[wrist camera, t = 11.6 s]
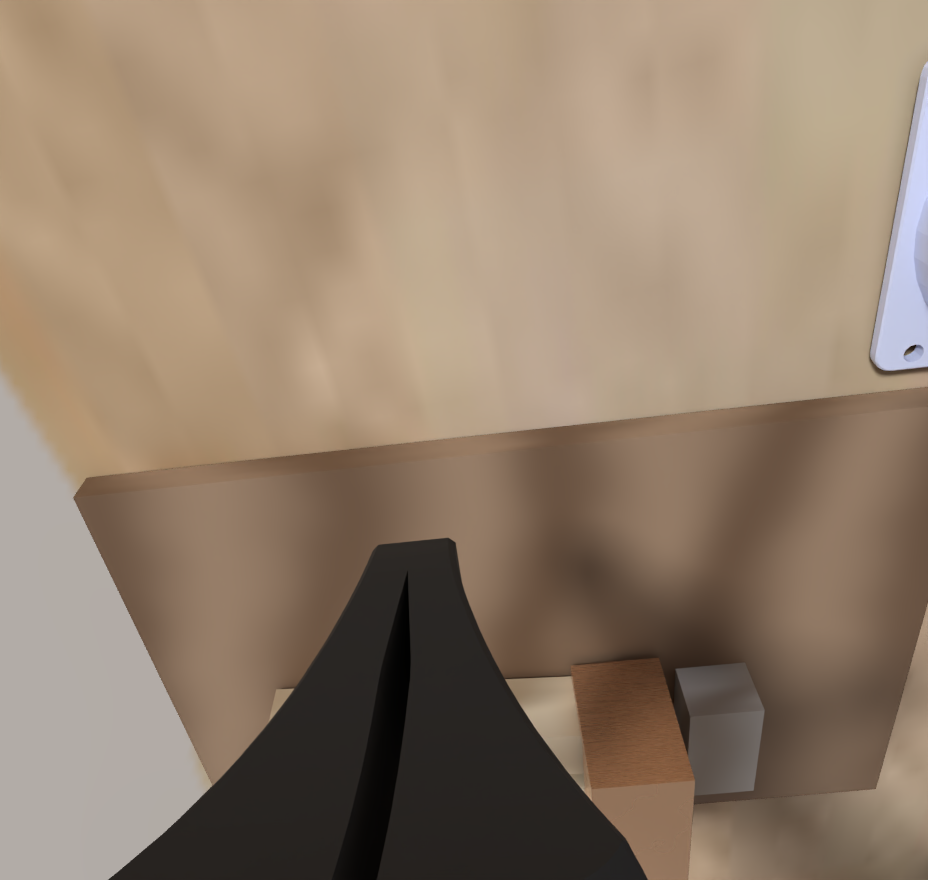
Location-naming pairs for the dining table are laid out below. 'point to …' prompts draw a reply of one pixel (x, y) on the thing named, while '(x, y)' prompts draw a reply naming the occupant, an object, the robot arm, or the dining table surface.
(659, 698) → the brown rectangular block
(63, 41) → the dining table surface
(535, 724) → the bar
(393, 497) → the tongs base
